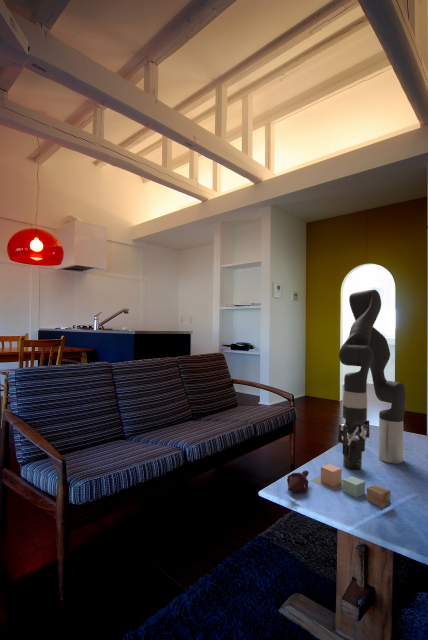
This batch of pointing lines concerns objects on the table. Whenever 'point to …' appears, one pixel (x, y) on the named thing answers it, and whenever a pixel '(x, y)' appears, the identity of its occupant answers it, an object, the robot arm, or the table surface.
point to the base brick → (331, 474)
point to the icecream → (298, 482)
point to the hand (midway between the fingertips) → (353, 453)
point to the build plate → (334, 488)
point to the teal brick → (353, 486)
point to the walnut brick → (378, 495)
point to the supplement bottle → (353, 457)
